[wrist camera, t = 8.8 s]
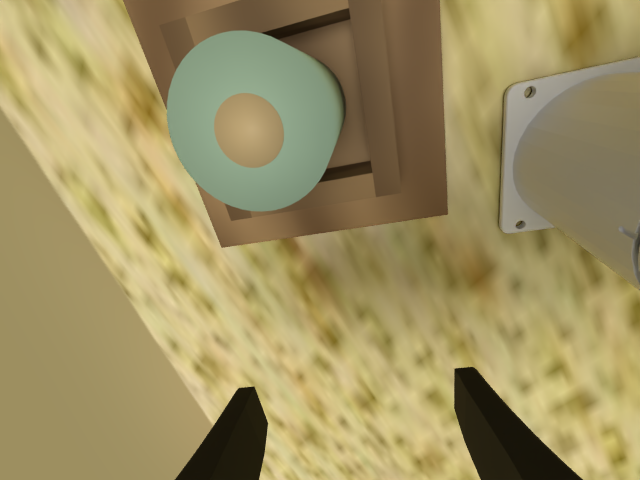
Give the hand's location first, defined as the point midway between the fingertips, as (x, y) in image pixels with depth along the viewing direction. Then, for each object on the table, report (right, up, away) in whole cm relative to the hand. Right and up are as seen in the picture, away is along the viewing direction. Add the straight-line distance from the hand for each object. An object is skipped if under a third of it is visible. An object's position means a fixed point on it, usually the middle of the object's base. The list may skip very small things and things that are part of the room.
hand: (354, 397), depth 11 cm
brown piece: (-2, +13, +6) cm, 14 cm away
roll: (-2, +12, +5) cm, 13 cm away
